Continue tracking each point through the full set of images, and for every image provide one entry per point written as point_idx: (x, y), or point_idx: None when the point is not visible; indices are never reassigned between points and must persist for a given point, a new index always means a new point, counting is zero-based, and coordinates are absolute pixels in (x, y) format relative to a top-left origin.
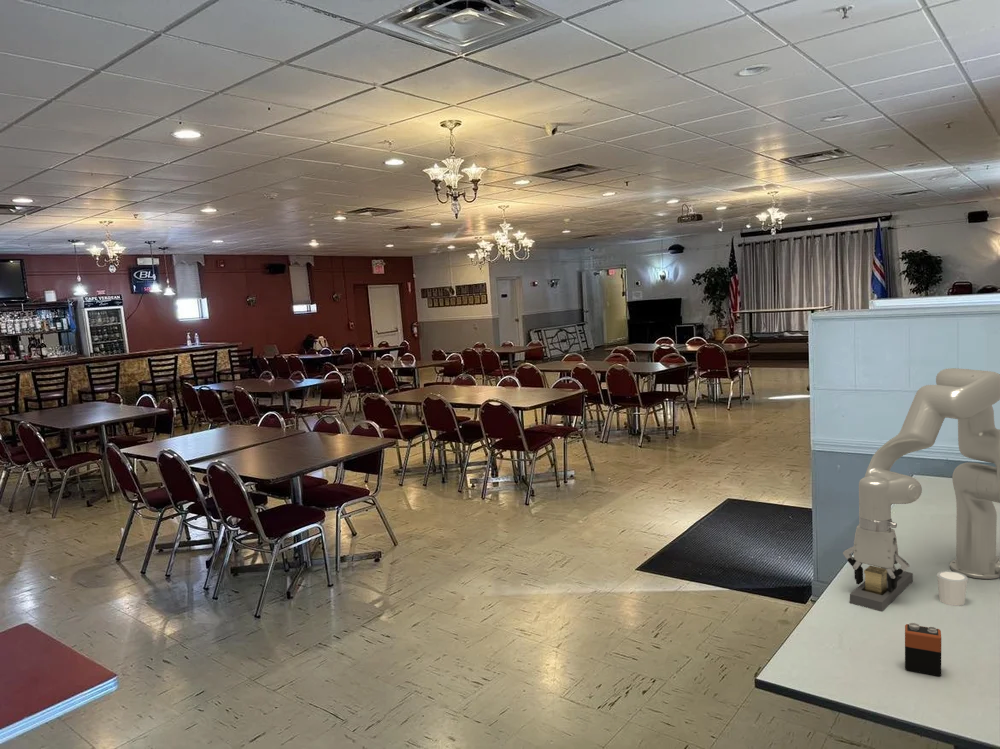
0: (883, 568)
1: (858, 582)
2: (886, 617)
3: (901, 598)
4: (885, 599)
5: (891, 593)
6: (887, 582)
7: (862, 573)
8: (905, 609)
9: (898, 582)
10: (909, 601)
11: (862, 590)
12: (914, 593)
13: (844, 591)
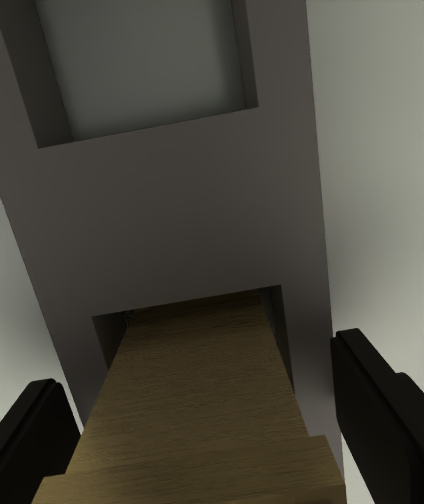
0: (268, 500)
1: None
2: (371, 500)
3: (334, 207)
4: (342, 468)
5: None
6: (193, 161)
7: (21, 467)
8: (419, 350)
9: (274, 68)
10: (398, 215)
11: None
12: (377, 19)
13: (7, 383)
